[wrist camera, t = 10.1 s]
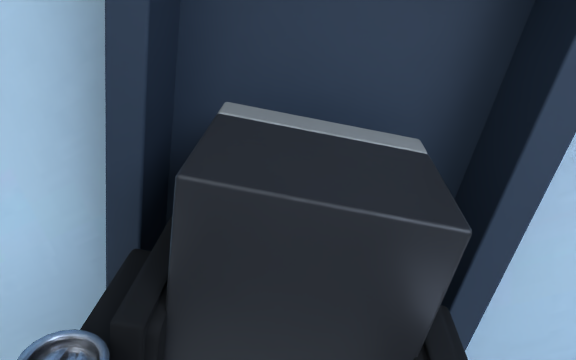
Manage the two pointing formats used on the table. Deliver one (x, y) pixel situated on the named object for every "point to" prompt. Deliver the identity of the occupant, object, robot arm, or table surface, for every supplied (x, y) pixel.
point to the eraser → (307, 242)
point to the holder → (349, 102)
